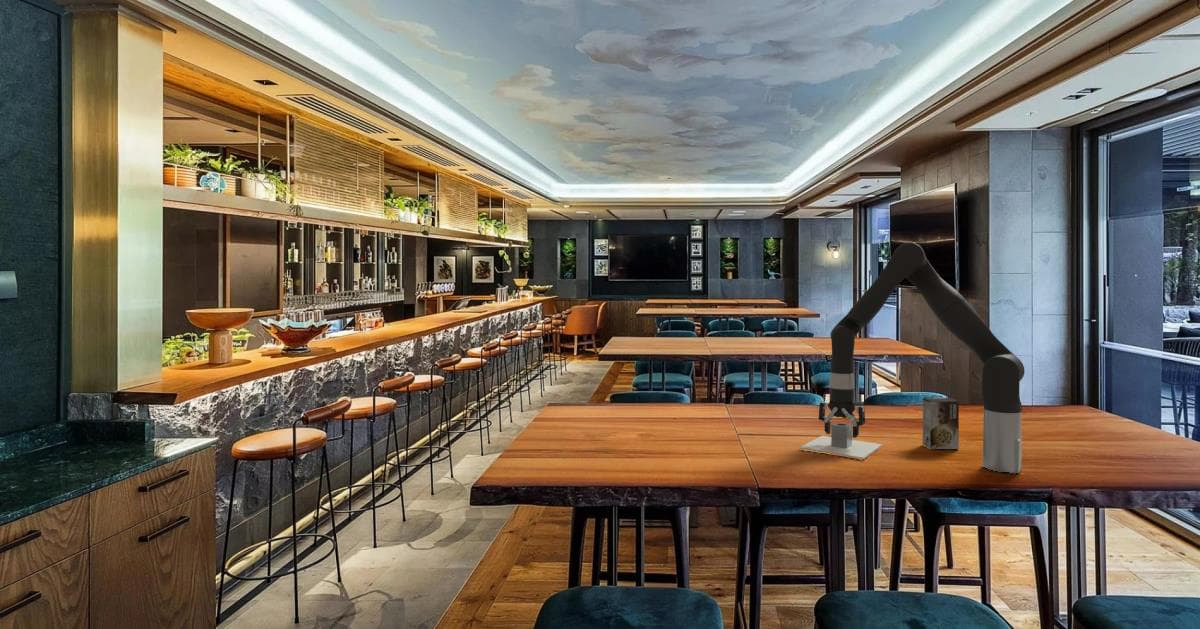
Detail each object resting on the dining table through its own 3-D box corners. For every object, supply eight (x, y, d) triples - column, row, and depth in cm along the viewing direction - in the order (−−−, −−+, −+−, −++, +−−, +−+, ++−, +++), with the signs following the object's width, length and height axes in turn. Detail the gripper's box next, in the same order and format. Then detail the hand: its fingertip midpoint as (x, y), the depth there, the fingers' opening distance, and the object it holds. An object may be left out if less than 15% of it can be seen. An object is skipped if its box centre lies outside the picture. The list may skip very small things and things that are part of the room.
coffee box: (950, 445, 210) (951, 397, 210) (959, 450, 204) (960, 400, 203) (921, 445, 211) (922, 397, 211) (929, 450, 205) (930, 400, 204)
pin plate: (882, 447, 209) (882, 428, 208) (863, 460, 193) (863, 440, 193) (821, 438, 221) (822, 420, 221) (799, 450, 206) (799, 431, 206)
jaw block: (851, 445, 208) (852, 424, 207) (846, 448, 204) (847, 427, 203) (836, 443, 211) (836, 422, 210) (831, 446, 207) (831, 425, 206)
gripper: (868, 387, 205) (867, 436, 205) (824, 383, 214) (823, 430, 214) (860, 390, 199) (860, 441, 200) (816, 385, 208) (815, 434, 209)
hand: (841, 435), depth 207 cm, fingers open, 8 cm apart
